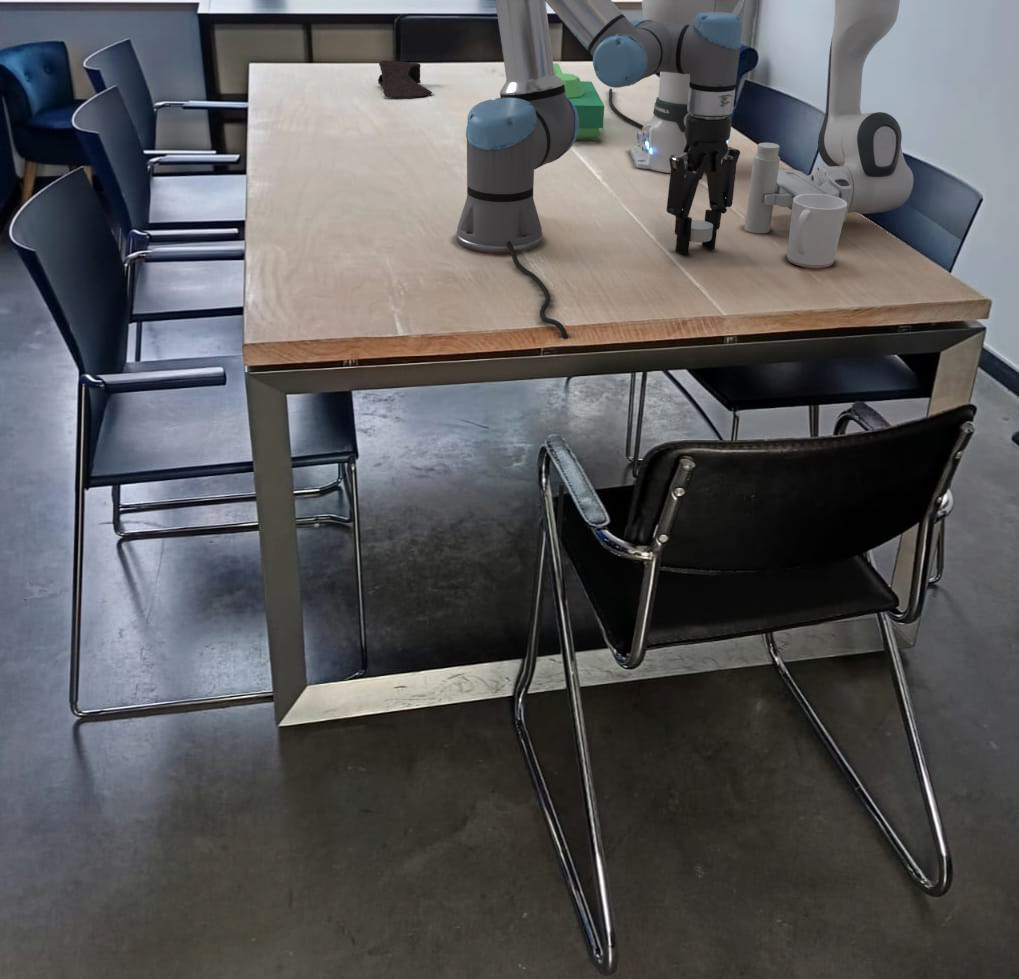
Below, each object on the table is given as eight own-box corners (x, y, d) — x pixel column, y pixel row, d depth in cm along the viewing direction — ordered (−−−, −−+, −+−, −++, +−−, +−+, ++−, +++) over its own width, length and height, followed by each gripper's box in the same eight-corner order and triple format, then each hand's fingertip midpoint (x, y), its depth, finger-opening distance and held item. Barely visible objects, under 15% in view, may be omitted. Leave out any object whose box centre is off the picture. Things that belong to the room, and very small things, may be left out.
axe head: (443, 87, 294) (392, 77, 287) (436, 115, 299) (385, 106, 292) (421, 62, 307) (371, 52, 300) (414, 89, 311) (365, 80, 304)
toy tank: (589, 59, 279) (605, 88, 249) (586, 109, 285) (601, 143, 256) (520, 58, 278) (528, 87, 248) (518, 108, 284) (526, 142, 255)
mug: (798, 248, 195) (807, 190, 190) (845, 259, 190) (856, 201, 185) (769, 263, 188) (777, 204, 182) (816, 276, 183) (827, 215, 178)
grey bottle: (747, 233, 202) (759, 148, 194) (741, 225, 206) (752, 141, 198) (772, 233, 202) (785, 148, 194) (766, 225, 206) (778, 141, 198)
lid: (717, 237, 192) (718, 224, 191) (700, 244, 189) (702, 231, 187) (692, 231, 195) (694, 218, 194) (676, 237, 192) (677, 224, 190)
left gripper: (679, 125, 174) (666, 265, 186) (766, 113, 182) (748, 248, 194) (651, 115, 180) (640, 252, 192) (737, 104, 188) (721, 236, 200)
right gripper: (805, 159, 210) (737, 162, 207) (855, 189, 193) (783, 193, 190) (800, 192, 213) (733, 195, 211) (849, 224, 196) (777, 228, 194)
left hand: (695, 250), depth 193 cm, fingers closed on lid, 5 cm apart
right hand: (757, 194), depth 200 cm, fingers closed on grey bottle, 5 cm apart
